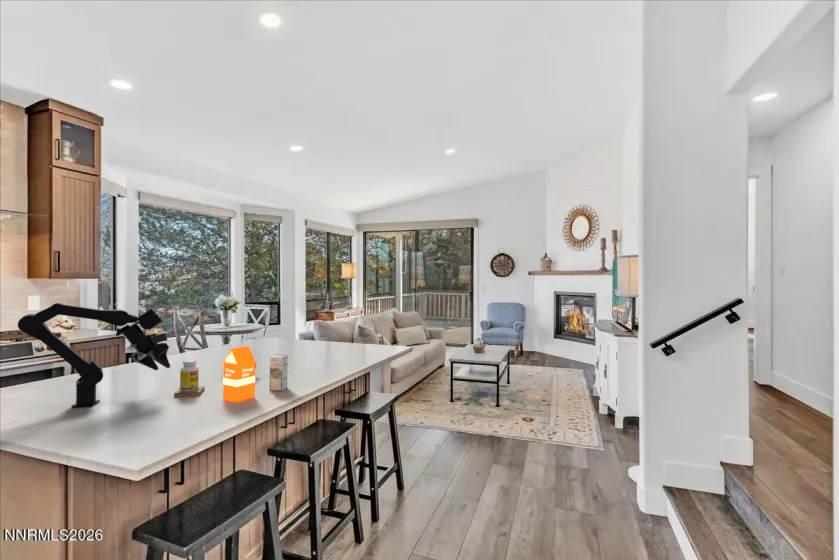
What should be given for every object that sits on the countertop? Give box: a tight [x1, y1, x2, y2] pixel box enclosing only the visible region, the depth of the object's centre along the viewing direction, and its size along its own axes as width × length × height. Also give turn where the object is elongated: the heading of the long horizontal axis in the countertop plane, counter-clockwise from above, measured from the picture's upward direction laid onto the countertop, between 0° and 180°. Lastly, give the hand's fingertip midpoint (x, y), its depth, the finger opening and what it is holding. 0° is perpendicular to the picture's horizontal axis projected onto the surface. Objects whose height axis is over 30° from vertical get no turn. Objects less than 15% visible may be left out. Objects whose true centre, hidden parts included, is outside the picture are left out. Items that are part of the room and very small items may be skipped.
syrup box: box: [269, 353, 289, 392], centre depth 182 cm, size 6×6×14 cm
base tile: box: [173, 385, 205, 398], centre depth 173 cm, size 9×9×2 cm
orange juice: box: [222, 345, 256, 403], centre depth 168 cm, size 8×9×20 cm
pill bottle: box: [179, 359, 200, 391], centre depth 173 cm, size 6×6×12 cm
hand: (163, 368), depth 171 cm, fingers open, 9 cm apart
